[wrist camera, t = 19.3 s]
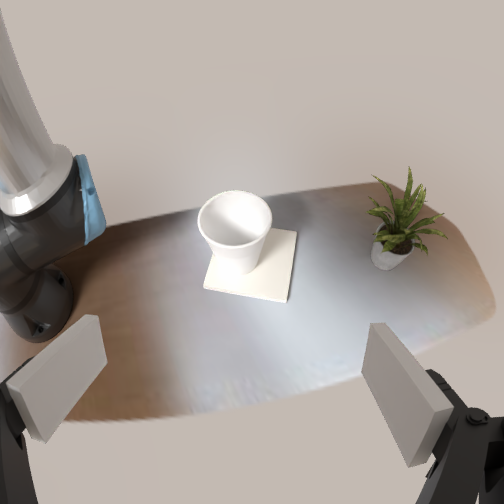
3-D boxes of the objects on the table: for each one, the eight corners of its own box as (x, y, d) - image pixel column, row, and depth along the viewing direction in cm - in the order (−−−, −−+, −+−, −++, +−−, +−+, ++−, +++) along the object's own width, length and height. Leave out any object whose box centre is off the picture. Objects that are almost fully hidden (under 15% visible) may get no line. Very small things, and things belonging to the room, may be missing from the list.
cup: (208, 237, 52) (199, 192, 43) (266, 233, 53) (268, 188, 43) (207, 289, 47) (195, 250, 38) (271, 286, 47) (276, 245, 38)
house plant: (342, 216, 56) (363, 148, 42) (407, 225, 55) (440, 164, 41) (345, 284, 48) (377, 221, 35) (418, 290, 47) (466, 234, 34)
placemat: (204, 288, 48) (203, 285, 47) (223, 224, 55) (223, 220, 54) (286, 302, 47) (286, 300, 46) (296, 235, 54) (297, 231, 53)
